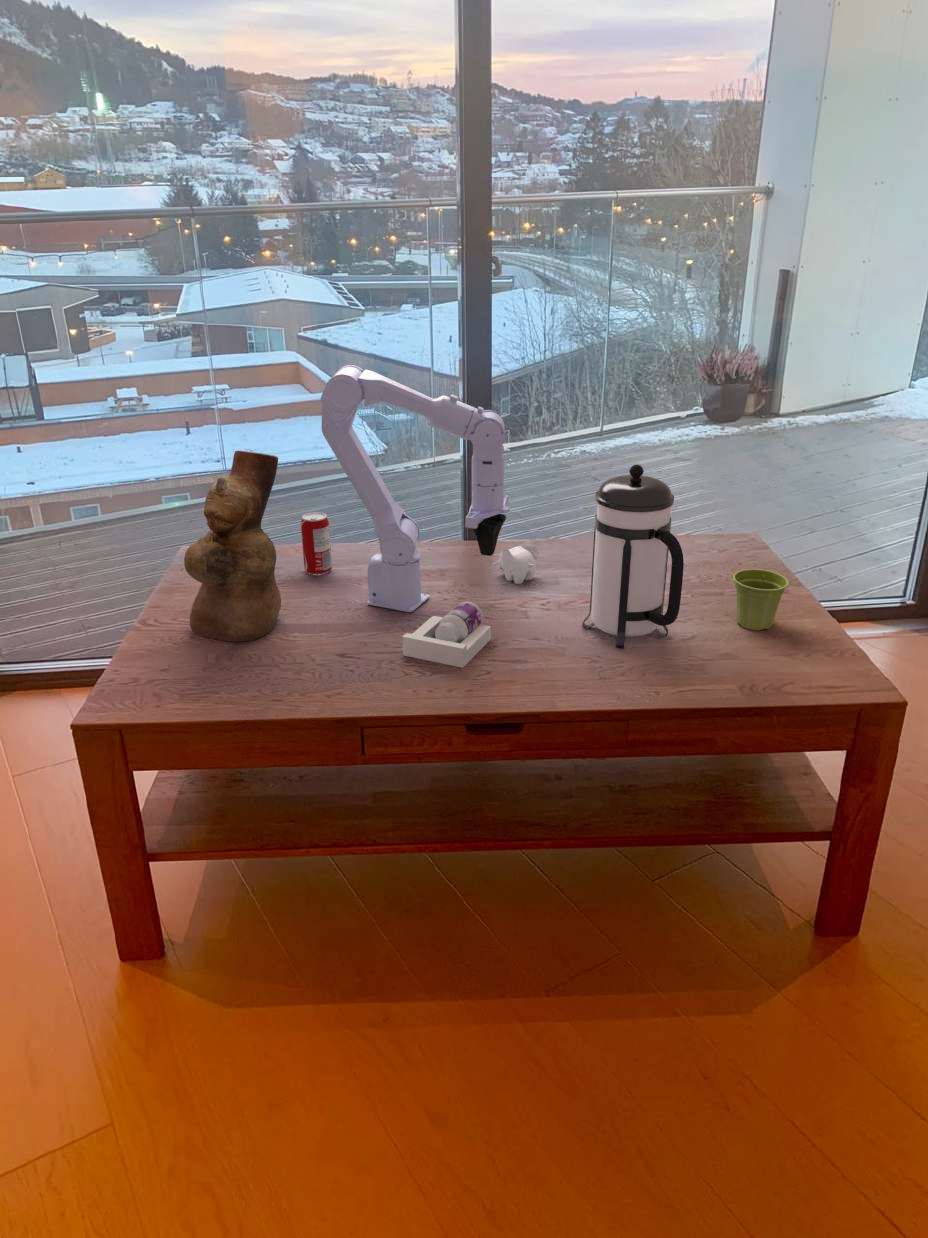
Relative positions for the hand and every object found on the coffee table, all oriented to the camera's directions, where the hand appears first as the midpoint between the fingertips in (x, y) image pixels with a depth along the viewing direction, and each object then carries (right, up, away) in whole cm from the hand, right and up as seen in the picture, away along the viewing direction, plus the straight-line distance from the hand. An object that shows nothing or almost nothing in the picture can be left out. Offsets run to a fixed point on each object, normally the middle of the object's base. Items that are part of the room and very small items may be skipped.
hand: (487, 554), depth 173 cm
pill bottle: (-3, -11, -8) cm, 14 cm away
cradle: (-7, -16, -12) cm, 21 cm away
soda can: (-34, -2, +20) cm, 39 cm away
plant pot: (+48, -13, -4) cm, 50 cm away
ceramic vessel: (-43, -12, -1) cm, 45 cm away
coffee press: (+25, -15, -8) cm, 30 cm away
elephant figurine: (+6, -4, +16) cm, 17 cm away
